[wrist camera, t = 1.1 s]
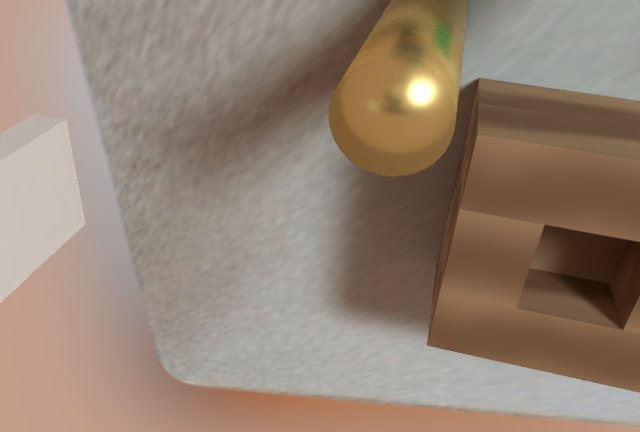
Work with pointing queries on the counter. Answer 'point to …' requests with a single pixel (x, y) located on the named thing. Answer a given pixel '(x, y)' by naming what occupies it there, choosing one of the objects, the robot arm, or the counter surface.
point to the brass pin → (402, 88)
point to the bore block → (545, 236)
